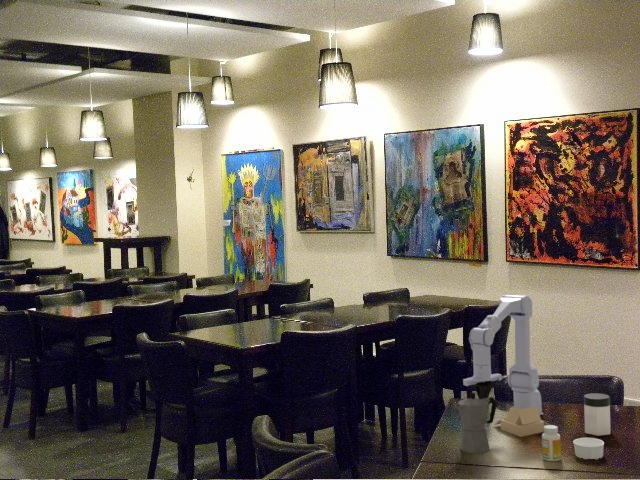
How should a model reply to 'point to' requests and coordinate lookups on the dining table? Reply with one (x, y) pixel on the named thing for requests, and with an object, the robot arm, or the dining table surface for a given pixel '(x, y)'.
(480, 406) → the coffeepot
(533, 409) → the flap
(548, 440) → the supplement bottle
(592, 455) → the ramekin
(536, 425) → the carton
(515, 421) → the flap
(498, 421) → the flap
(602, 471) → the dining table surface
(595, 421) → the jar
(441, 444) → the dining table surface
